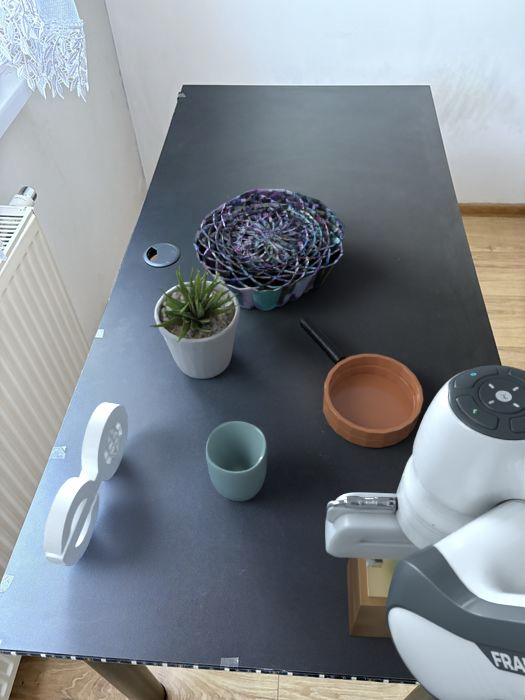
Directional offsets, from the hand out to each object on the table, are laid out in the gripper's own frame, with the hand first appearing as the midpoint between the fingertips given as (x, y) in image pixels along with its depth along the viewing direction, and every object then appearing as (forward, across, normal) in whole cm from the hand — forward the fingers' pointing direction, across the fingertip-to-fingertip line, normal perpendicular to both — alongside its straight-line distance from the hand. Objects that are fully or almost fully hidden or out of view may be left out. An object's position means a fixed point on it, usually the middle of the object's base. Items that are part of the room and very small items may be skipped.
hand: (418, 562), depth 62 cm
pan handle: (+11, -9, +39) cm, 41 cm away
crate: (+14, 0, 0) cm, 14 cm away
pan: (+14, -2, +28) cm, 31 cm away
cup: (+14, -20, +15) cm, 29 cm away
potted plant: (+14, -28, +37) cm, 48 cm away
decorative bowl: (+14, -18, +58) cm, 63 cm away
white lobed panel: (+14, -39, +12) cm, 44 cm away
